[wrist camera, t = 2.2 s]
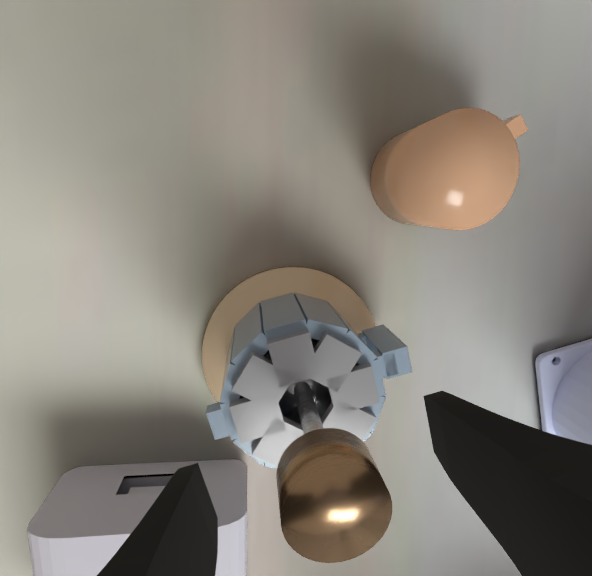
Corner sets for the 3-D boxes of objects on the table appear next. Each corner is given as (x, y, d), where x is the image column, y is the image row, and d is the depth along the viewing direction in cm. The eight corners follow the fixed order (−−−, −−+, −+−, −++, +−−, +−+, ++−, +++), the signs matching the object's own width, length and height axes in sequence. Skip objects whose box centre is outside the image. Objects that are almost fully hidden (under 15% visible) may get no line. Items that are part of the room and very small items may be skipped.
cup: (398, 241, 19) (443, 252, 15) (353, 165, 18) (386, 153, 14) (492, 176, 19) (565, 168, 15) (452, 96, 18) (518, 61, 14)
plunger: (336, 326, 16) (402, 418, 9) (357, 412, 17) (430, 556, 10) (239, 353, 16) (231, 469, 9) (265, 439, 17) (276, 605, 10)
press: (360, 245, 19) (401, 260, 14) (393, 402, 21) (439, 467, 16) (179, 293, 19) (151, 328, 13) (231, 450, 21) (225, 532, 16)
